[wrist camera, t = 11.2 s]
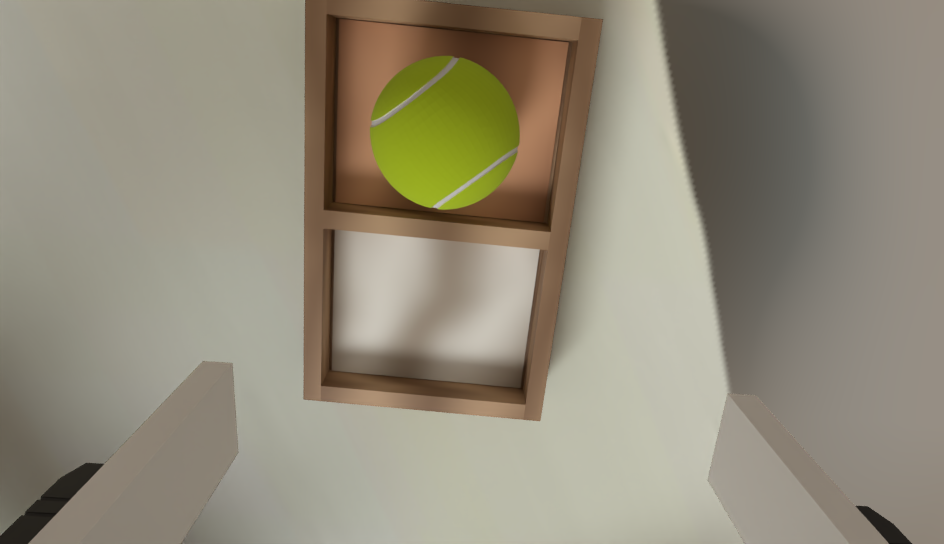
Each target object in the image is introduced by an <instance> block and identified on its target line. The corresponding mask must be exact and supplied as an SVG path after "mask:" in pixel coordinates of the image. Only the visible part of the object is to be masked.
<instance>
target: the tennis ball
mask: <svg viewBox="0 0 944 544" xmlns="http://www.w3.org/2000/svg"><path fill="white" fill-rule="evenodd" d="M371 121H372V124H371V126H370V139H371V146H372V150H373V154H374V157H375V160H376V162H377V165H378V167H379V169H380V170H381V172H382V174H383V175H384V177H385V178H386V179H387V181H388V182H389V183H390V184H391V185H392V186H393V187H394V188H395V189H396V190H397V191H398V192H399V193H400V194H402V195H403V196H404V197H406V198H407V199H409V200H411V201H413V202H415V203H417V204H419V205H422V206H425V207H428V208H432V207H434V208H437V209H441V210H448V209H457V208H462V207H465V206H468V205H471V204H474V203H476V202H478V201H480V200H482V199H484V198H485V197H486V196H488V195H489V194H491V193H492V192H493V191H494V190H495V189H496V188H497V187H498V186H499V185H500V184H501V183H502V182H503V181H504V179H505V178H506V177H507V175H508V174H509V172H510V170H511V168H512V166H513V164H514V162H515V159H516V156H517V153H518V150H517V147H518V146H519V142H520V127H519V121H518V116H517V112H516V109H515V106H514V104H513V101H512V99H511V97H510V95H509V94H508V92H507V90H506V89H505V88H504V86H503V85H502V84H501V83H500V81H499V80H498V79H497V78H496V77H495V76H494V75H493V74H491V73H490V72H489V71H488V70H486V69H485V68H483V67H482V66H480V65H478V64H477V63H474V62H472V61H470V60H467V59H464V58H461V57H460V58H454V56H435V57H430V58H426V59H422V60H420V61H417V62H415V63H413V64H411V65H409V66H407V67H405V68H404V69H403V70H401V71H400V72H398V73H397V74H396V75H395V76H394V77H393V78H392V79H391V80H390V81H389V82H388V83H387V85H386V86H385V87H384V89H383V90H382V92H381V93H380V95H379V97H378V99H377V101H376V103H375V106H374V109H373V112H372V116H371Z"/></svg>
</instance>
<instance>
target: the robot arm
mask: <svg viewBox="0 0 944 544" xmlns="http://www.w3.org/2000/svg"><path fill="white" fill-rule="evenodd" d="M237 454H238V440H237V425H236V410H235V395H234V379H233V364H232V363H224V362H208V361H203V362H202V363H201V364H200V365H199V366H198V367H197V368H196V369H195V370H194V371H193V372H192V373H191V374H190V375H189V376H188V377H187V378H186V379H185V380H184V382H183V383H182V384H181V385H180V386H179V387H178V388H177V389H176V390H175V391H174V392H173V393H172V394H171V395H170V396H169V397H168V398H167V399H166V400H165V401H164V402H163V403H162V404H161V406H160V407H159V408H158V409H157V410H156V411H155V412H154V413H153V414H152V415H151V416H150V417H149V418H148V419H147V420H146V421H145V422H144V423H143V424H142V425H141V426H140V427H139V428H138V430H137V431H136V432H135V433H134V434H133V435H132V436H131V437H130V438H129V439H128V440H127V441H126V442H125V443H124V444H123V445H122V446H121V447H120V448H119V449H118V450H117V451H116V452H115V454H114V455H113V456H112V457H111V458H110V459H109V460H108V461H107V462H106V463H105V464H96V463H85V464H84V465H82V466H80V467H78V468H77V469H75V470H73V471H72V472H70V473H68V474H66V475H65V476H63V477H61V478H60V479H59V480H58V481H57V482H56V483H55V484H54V485H53V486H51V487H50V488H49V489H48V490H47V491H46V492H45V493H44V494H43V495H42V496H41V499H40V500H37V501H36V502H35V503H34V504H33V505H32V506H31V507H30V508H29V509H28V510H27V511H26V512H25V515H24V516H20V517H19V518H18V519H17V520H16V521H15V522H14V523H13V524H12V525H11V526H10V527H9V528H8V529H7V530H6V531H5V532H4V533H3V534H2V535H1V536H0V544H181V543H182V541H183V540H184V538H185V537H186V535H187V533H188V532H189V530H190V529H191V527H192V525H193V524H194V522H195V521H196V519H197V518H198V516H199V514H200V513H201V511H202V510H203V508H204V506H205V505H206V503H207V502H208V500H209V498H210V497H211V495H212V494H213V492H214V490H215V489H216V487H217V486H218V484H219V483H220V481H221V479H222V478H223V476H224V475H225V473H226V471H227V470H228V468H229V467H230V465H231V463H232V462H233V460H234V459H235V457H236V455H237ZM708 482H709V484H710V485H711V487H712V489H713V490H714V492H715V494H716V495H717V497H718V499H719V501H720V502H721V504H722V506H723V507H724V509H725V511H726V513H727V514H728V516H729V518H730V519H731V521H732V523H733V524H734V526H735V528H736V530H737V531H738V533H739V535H740V536H741V538H742V540H743V541H744V543H745V544H912V543H911V542H910V541H909V540H908V539H907V538H906V537H905V536H904V535H903V534H902V533H901V532H900V531H899V529H898V528H897V527H896V526H895V525H894V524H892V523H891V522H890V521H888V520H887V519H885V518H884V517H882V516H881V515H879V514H878V513H877V512H875V511H874V510H872V509H871V508H869V507H867V506H855V505H854V504H853V503H852V502H851V501H850V500H849V498H848V497H847V496H846V495H845V494H844V493H843V492H842V491H841V490H840V489H839V488H838V486H837V485H836V484H835V483H834V482H833V481H832V480H831V479H830V477H829V476H828V475H827V474H826V473H825V472H824V471H823V470H822V469H821V467H820V466H819V465H818V464H817V463H816V462H815V461H814V459H813V458H812V457H811V456H810V455H809V454H808V453H807V452H806V451H805V450H804V448H802V446H801V445H800V444H799V443H798V442H797V441H796V440H795V438H794V437H793V436H792V435H791V434H790V433H789V432H788V431H787V430H786V428H785V427H784V426H783V425H782V424H781V423H780V422H779V421H778V420H777V418H776V417H775V416H774V415H773V414H772V413H771V412H770V410H769V409H768V408H767V407H766V406H765V405H764V404H763V403H762V402H761V400H760V399H759V398H758V397H757V396H756V395H744V394H728V393H727V397H726V402H725V406H724V410H723V415H722V419H721V423H720V428H719V432H718V436H717V441H716V445H715V449H714V454H713V458H712V462H711V467H710V471H709V475H708Z"/></svg>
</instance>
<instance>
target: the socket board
mask: <svg viewBox="0 0 944 544" xmlns="http://www.w3.org/2000/svg"><path fill="white" fill-rule="evenodd" d="M602 22H603V19H594V18H585V17H575V16H566V15H556V14H547V13H537V12H527V11H518V10H508V9H499V8H489V7H480V6H470V5H460V4H451V3H441V2H432V1H422V0H305V192H304V399H305V400H316V401H327V402H337V403H348V404H359V405H370V406H381V407H392V408H403V409H414V410H425V411H435V412H446V413H457V414H468V415H479V416H490V417H501V418H512V419H523V420H533V421H540V419H541V413H542V406H543V400H544V394H545V387H546V381H547V374H548V368H549V362H550V355H551V349H552V342H553V336H554V330H555V323H556V317H557V310H558V304H559V297H560V291H561V285H562V278H563V272H564V265H565V259H566V253H567V246H568V240H569V233H570V227H571V221H572V214H573V208H574V201H575V195H576V189H577V182H578V176H579V169H580V163H581V156H582V150H583V144H584V137H585V131H586V124H587V118H588V112H589V105H590V99H591V92H592V86H593V80H594V73H595V67H596V60H597V54H598V47H599V41H600V35H601V28H602ZM435 56H454V58H460V57H461V58H464V59H467V60H470V61H472V62H474V63H477V64H478V65H480V66H482V67H483V68H485V69H486V70H488V71H489V72H490V73H491V74H493V75H494V76H495V77H496V78H497V79H498V80H499V81H500V83H501V84H502V85H503V86H504V88H505V89H506V90H507V92H508V94H509V95H510V97H511V99H512V101H513V104H514V106H515V109H516V112H517V116H518V121H519V127H520V142H519V146H518V147H517V150H518V153H517V156H516V159H515V162H514V164H513V166H512V168H511V170H510V172H509V174H508V175H507V177H506V178H505V179H504V181H503V182H502V183H501V184H500V185H499V186H498V187H497V188H496V189H495V190H494V191H493V192H492V193H491V194H489V195H488V196H486V197H485V198H484V199H482V200H480V201H478V202H476V203H474V204H471V205H468V206H465V207H462V208H457V209H448V210H441V209H437V208H434V207H432V208H428V207H425V206H422V205H419V204H417V203H415V202H413V201H411V200H409V199H407V198H406V197H404V196H403V195H402V194H400V193H399V192H398V191H397V190H396V189H395V188H394V187H393V186H392V185H391V184H390V183H389V182H388V181H387V179H386V178H385V177H384V175H383V174H382V172H381V170H380V169H379V167H378V165H377V162H376V160H375V157H374V154H373V150H372V146H371V139H370V126H371V124H372V121H371V116H372V112H373V109H374V106H375V103H376V101H377V99H378V97H379V95H380V93H381V92H382V90H383V89H384V87H385V86H386V85H387V83H388V82H389V81H390V80H391V79H392V78H393V77H394V76H395V75H396V74H397V73H398V72H400V71H401V70H403V69H404V68H405V67H407V66H409V65H411V64H413V63H415V62H417V61H420V60H422V59H426V58H430V57H435Z"/></svg>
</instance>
